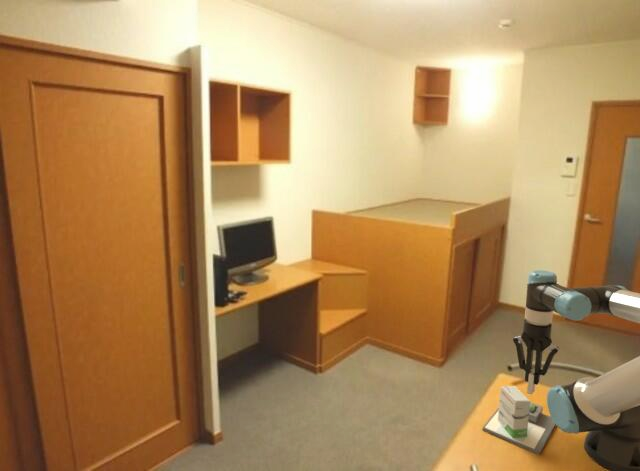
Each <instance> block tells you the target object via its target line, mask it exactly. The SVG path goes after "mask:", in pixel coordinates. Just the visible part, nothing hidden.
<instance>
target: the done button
mask: <svg viewBox="0 0 640 471" xmlns="http://www.w3.org/2000/svg"><path fill="white" fill-rule="evenodd" d="M532 403H533V402H531V403H530V409H529V412H530V413H533V414H534V412H535V405H534V404H535V403H534V404H532Z"/></svg>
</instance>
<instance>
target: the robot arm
mask: <svg viewBox="0 0 640 471" xmlns="http://www.w3.org/2000/svg"><path fill="white" fill-rule="evenodd" d="M557 282H558V277H557V275H556V273H555V272H552V271H547V270H544V269H543V270H541V269H540V270H539V269H538V270H531V271H530V272H529V274H528V280H527V283H526V284H527V286H526V297H525V298H526V299H525V309H524V310H525V311H524V321H523V328H522V329H523V332H522V333H521V335H516V336H515V337H514V338H513V339H512V341H513V343H514V345H515V349H516V355H517V360H518V367H519V368H520V370H524V372H525V375H524V382H526V383H527V390H526V393H527V394H530V395H533V394H534V392H535V391H536V385H539V383H540V377H541V376H546V374H547V373H548V370H549V369H550V366H551V364H552V362H553V358H554V356H555V355H556V354H558V352H559V351H560V347H559V346H556V345H555V344H553V341H552V338H551V336H552V335H551V334H552V323H553V319H554V318H553V317H554V313H556V314H558V315H560V316H561V317H564V318H566V319H569V320H572V321H582V320H583V319H585V318H587V317H588V316H589V315H593V314H595V315H596V314H597V315H598V314H607V315H610V316H614V317H617V318H621V319H624V320H627V321H630V322H634V323H637V324H640V293H639V292H635V291H630V290H629V289H627V288H626V287H625V286H622V285H614V284H613V285H612V284H608V285H600V286H599V285H598V286H579V287H576V286H575V287H566V286H564V285H562V284H559V283H557ZM523 343H524V345H525V346H526V358H525V351H524V347H523ZM547 348H548V352H549V353H548V355H547V358H546V360H545V362H544V364H543V366H542V362H543V353H544V351H545V350H546V349H547ZM534 351H535V362H534V359H533V358H534ZM533 362H534V370H533ZM546 406H547V409H548V412H549V414H550V415H549V416H551V417H552V419H553V421H554V423H555V424H556V425H555V426H556V427H558V429H559V430H561V431H562V432H564V433H566V434H575V435H576V434H580V433H587V434H586V435H585V436H584V437H585V438H584V443H583V447H584V451H585V452H586V455H588V456H589V457H590V458H591V459H592V460H593V461H595V463H596V464H599V465H600V466H601V467H603V468H606V469H608V470H610V471H640V355H639V356H637V357H635V358H633V359H630V360H629V361H627V362H625V363H623V364H621V365H619V366H617V367H616V368H614V369H611V370H610V371H606V372H604V373H603V374H602V375H600V376H598V377H597V376H596V377H593V376H585V377H582V378H581V377H580V378H579V379H577V380H575V381H573V382H571V383H569V384H566V385H565V384H564V385H559V384H558V385H555V386H552V387H550V388H549V390H548V391H547V393H546Z"/></svg>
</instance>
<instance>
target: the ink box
mask: <svg viewBox="0 0 640 471" xmlns="http://www.w3.org/2000/svg"><path fill="white" fill-rule="evenodd" d="M499 392H500V393H499V402H498V408H499V411H498V421H499V423H500V424H501V425H502V426H503V427H504V428H505V429H506V431H507V432H508V433H509V434H510V435H511V436H512V437H513V438H514V437H524V436H527V429H528V419H529V409H530V402H531V400H530V399H529V398H528V397H527V396H526V395H525V394H524V393H523V392H522V391H521V390H520V389H519V388H518V387H517V386H516V385H504V386H500V390H499Z"/></svg>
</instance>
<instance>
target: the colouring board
mask: <svg viewBox="0 0 640 471" xmlns="http://www.w3.org/2000/svg"><path fill="white" fill-rule="evenodd" d="M530 403H532V404H534V405H535V412H534V414H533V413H530V412H529V419H528V429H527V436H524V437H514V438H513V437H512V436H511V435H510V434H509V433H508V432H507V431H506V429H505V428H504V427H503V426H502V425H501V424H500V423H499V421H498V411H499V407H498V408H497V409H496V410H495V412H494V413H493V414H492V415H491V416H490V418H489V419H488V421H486V423H485V424H484V425H483V426H482V431H483V432H486V433H488V434H490V435H493V436H495V437H497V438H499V439H502V440H504V441H506V442H509V443H511V444H513V445H515V446H518V447H520V448H522V449H524V450H527V451H530V452H531V453H534V454H536V455H538V456H540V454H541V453H542V451H543V449H544V447H545V446H546V443H547V441H548V440H549V438H550V436H551V434H552V432H553V431H554V429H555V427H556V426H557V425H556V424H555V423H554V421H553V419H552V417H551V415H547V414H545V413H543V409H544V407H543V406H541V405H539V404H537V403H533V402H531V401H530Z"/></svg>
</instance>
